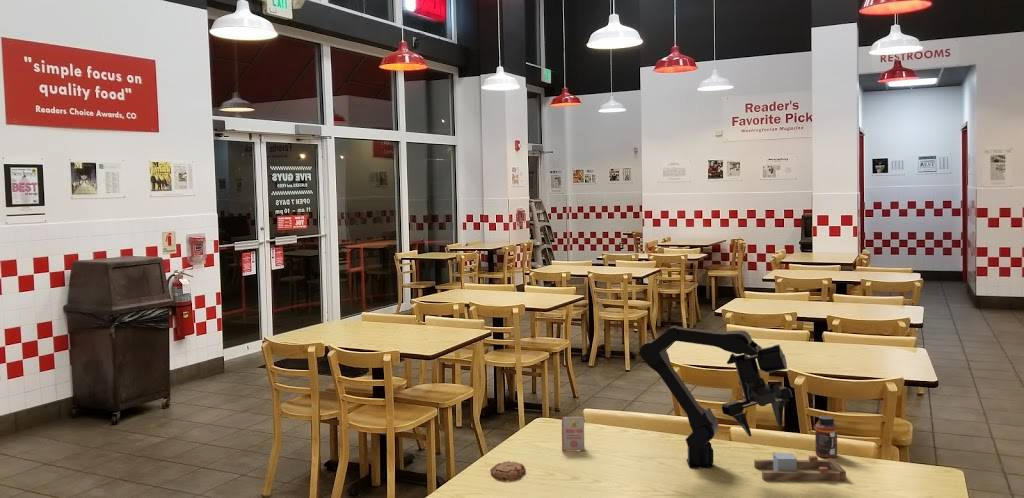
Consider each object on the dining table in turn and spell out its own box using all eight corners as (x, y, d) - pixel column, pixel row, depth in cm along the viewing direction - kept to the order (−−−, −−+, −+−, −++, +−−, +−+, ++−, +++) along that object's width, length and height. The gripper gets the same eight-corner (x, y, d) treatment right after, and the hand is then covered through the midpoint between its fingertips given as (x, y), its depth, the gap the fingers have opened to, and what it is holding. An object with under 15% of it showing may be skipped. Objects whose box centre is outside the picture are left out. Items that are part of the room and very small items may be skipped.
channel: (763, 480, 214) (763, 468, 213) (754, 466, 224) (754, 455, 224) (845, 480, 212) (845, 468, 212) (832, 467, 223) (832, 455, 223)
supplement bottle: (839, 459, 230) (839, 420, 229) (817, 458, 231) (817, 419, 230) (835, 452, 235) (835, 414, 235) (813, 451, 237) (813, 414, 236)
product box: (562, 447, 246) (561, 415, 246) (584, 447, 246) (583, 415, 245) (562, 450, 242) (561, 418, 242) (584, 451, 242) (583, 418, 241)
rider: (777, 476, 216) (777, 458, 216) (773, 470, 221) (773, 453, 221) (796, 477, 216) (796, 458, 215) (791, 470, 221) (791, 453, 220)
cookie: (494, 483, 216) (494, 472, 216) (488, 470, 227) (487, 460, 227) (530, 480, 218) (530, 469, 218) (522, 467, 229) (521, 457, 229)
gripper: (730, 387, 210) (747, 445, 209) (794, 368, 213) (810, 425, 212) (714, 384, 221) (729, 439, 220) (774, 366, 224) (790, 420, 223)
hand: (765, 431), depth 219 cm, fingers open, 9 cm apart
